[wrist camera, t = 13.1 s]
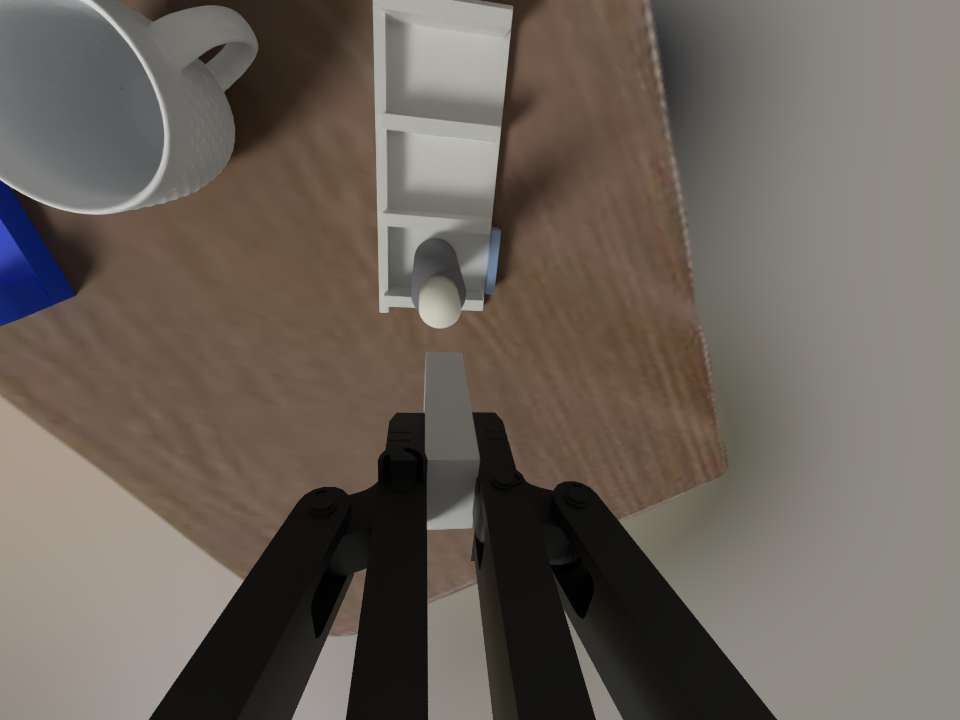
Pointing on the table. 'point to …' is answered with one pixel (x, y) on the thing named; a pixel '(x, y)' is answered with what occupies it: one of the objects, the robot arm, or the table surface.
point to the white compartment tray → (438, 137)
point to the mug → (115, 101)
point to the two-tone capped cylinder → (437, 283)
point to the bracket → (25, 265)
